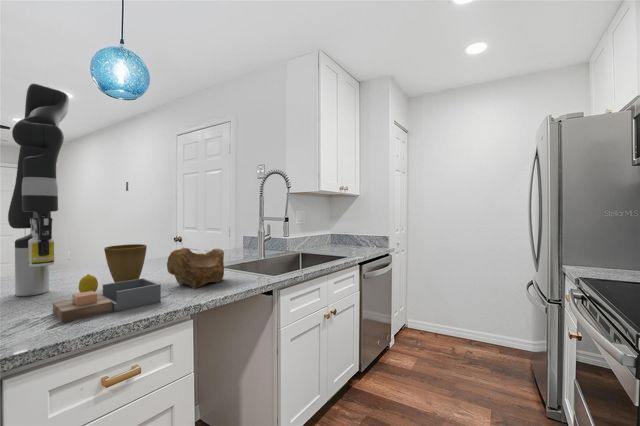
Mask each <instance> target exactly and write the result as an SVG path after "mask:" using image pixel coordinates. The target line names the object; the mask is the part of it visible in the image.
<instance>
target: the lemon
mask: <svg viewBox="0 0 640 426" xmlns="http://www.w3.org/2000/svg"><path fill="white" fill-rule="evenodd" d="M98 285H99V282H98V278H96V276H94V275H91V274H90V273H89V274H86V275H84V276H82V277H81V278H80V280H79V283H78V291H79V293H82V292H88V291H93V292H95V293H97V290H98V287H99V286H98Z"/></svg>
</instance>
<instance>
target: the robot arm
mask: <svg viewBox="0 0 640 426" xmlns="http://www.w3.org/2000/svg"><path fill="white" fill-rule="evenodd" d="M69 107H70V98H69V95H68V94H67V93H65V92H64V91H61V90H58V89H55V88H52V87H49V86H44V85H42V84H37V83H35V82H34V83H30V84H29V85H28V87H27V89H26V95H25V108H24V118H21V119H20V120H18V121H17V122H16V123H15V124H14V126H13V128H12V131H11V132H12V133H11V134H12V138H13V141H14V142H15V143H16V144H17V145H19V146H20V147H19V153H18V157H17V159H18V160H17V168H16V169H17V170H16V176H15V183H14V188H13V191H12V192H13V193H12V197H11V199H10V202H9V203H10V205H9V209H8V213H7V221H8V225H9V226H10V227H11V228H12V229H19V230H21V229H23V230H24V229H30V233H29V234H27V235H25V236H22V237H19V238H17V239H16V240H14V295H15V297H28V296H29V297H30V296H36V295H41V294H46V293H48V292H50V265H47V266H36V267H30V266H29V264H28V241H29V240H30V239H32V238H33V236H32V231H34V234H35V235H37V241H38V255H39V256H47V255H49V242H50V240H51V239H52V238H53V236H52V235H53V234H52V233H53V218H52V213H53V212H58V210H59V188H58V181H57V162H58V158H59V153H60V151H61V148H62V146H63V143H64V140H65V136H64V135H65V134H64V133H63V130H62V128H60V127H59V126H60V123H61V122H62V121H63V120H64V119H65V117H66V116H67V114H68V112H69ZM51 212H52V213H51ZM42 234H46V235H42Z"/></svg>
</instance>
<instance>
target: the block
mask: <svg viewBox="0 0 640 426" xmlns="http://www.w3.org/2000/svg"><path fill="white" fill-rule="evenodd" d="M97 295H98V293H97V292H93V291H88V292H82V293H80V292H77V293H72V297H71V298H72V299H71V300H72V302H73V303H74V304H75V305H77V306H78V305H83V304H88V303H94V302H97Z"/></svg>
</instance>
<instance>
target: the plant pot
mask: <svg viewBox="0 0 640 426" xmlns="http://www.w3.org/2000/svg"><path fill="white" fill-rule="evenodd" d="M147 247H148V244H141V243H133V244H132V243H131V244H129V243H128V244H119V245H111V246H106V247H104V248H103V249H104V255H105V260H106V264H107V267H108V270H109V272H110V275H111V278H112V280H113V283H117V282H123V281H129V280H136V279H140V277H141V274H142V271H143V267H144V263H145V259H146V255H147Z"/></svg>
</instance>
